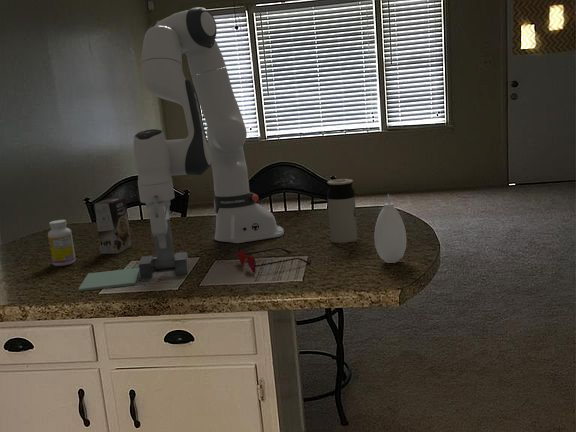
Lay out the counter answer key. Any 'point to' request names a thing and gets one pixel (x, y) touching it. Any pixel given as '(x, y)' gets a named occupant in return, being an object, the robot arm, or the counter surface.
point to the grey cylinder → (166, 252)
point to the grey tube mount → (163, 265)
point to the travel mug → (342, 211)
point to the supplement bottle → (61, 243)
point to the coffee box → (113, 225)
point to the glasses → (251, 259)
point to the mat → (110, 279)
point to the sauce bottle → (390, 234)
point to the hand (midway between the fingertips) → (163, 244)
